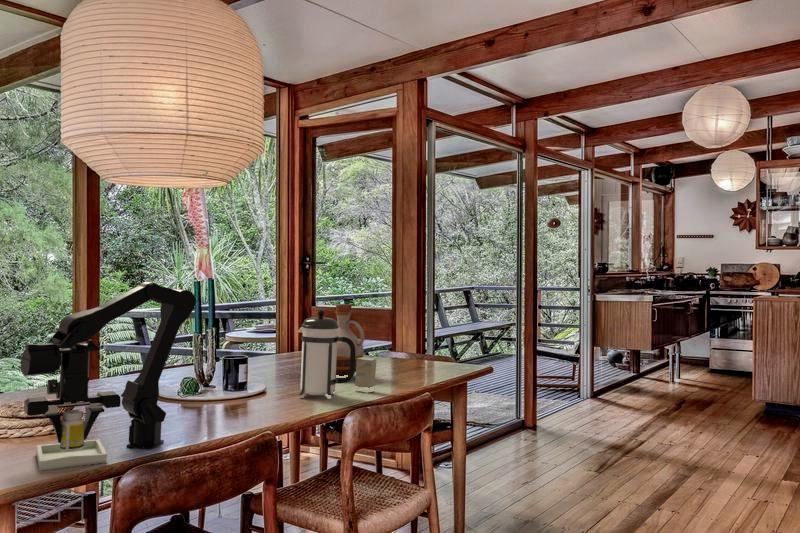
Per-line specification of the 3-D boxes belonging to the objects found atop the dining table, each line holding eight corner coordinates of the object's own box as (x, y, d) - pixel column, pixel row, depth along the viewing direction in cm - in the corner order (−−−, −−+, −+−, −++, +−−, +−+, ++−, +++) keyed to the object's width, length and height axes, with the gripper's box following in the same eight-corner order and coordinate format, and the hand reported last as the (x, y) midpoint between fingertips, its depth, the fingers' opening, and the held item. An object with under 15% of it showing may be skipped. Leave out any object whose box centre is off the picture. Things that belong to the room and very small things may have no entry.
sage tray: (98, 447, 152) (99, 439, 152) (106, 463, 141) (106, 454, 141) (36, 454, 145) (36, 445, 145) (39, 470, 134) (39, 461, 134)
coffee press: (312, 403, 210) (315, 312, 210) (287, 394, 223) (291, 308, 223) (355, 398, 221) (358, 311, 221) (329, 390, 234) (333, 308, 234)
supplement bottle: (87, 446, 146) (88, 409, 146) (77, 452, 141) (79, 414, 141) (66, 445, 146) (67, 409, 146) (55, 451, 141) (57, 413, 141)
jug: (374, 378, 262) (377, 305, 262) (348, 384, 247) (351, 306, 247) (336, 372, 273) (339, 302, 273) (309, 377, 257) (312, 303, 257)
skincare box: (354, 391, 233) (355, 358, 233) (360, 389, 237) (361, 357, 237) (369, 393, 230) (371, 360, 230) (375, 391, 234) (376, 358, 234)
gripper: (110, 363, 156) (107, 427, 156) (21, 369, 144) (19, 438, 144) (122, 370, 147) (119, 438, 147) (29, 377, 135) (26, 450, 135)
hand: (72, 440), depth 143 cm, fingers closed on supplement bottle, 5 cm apart
